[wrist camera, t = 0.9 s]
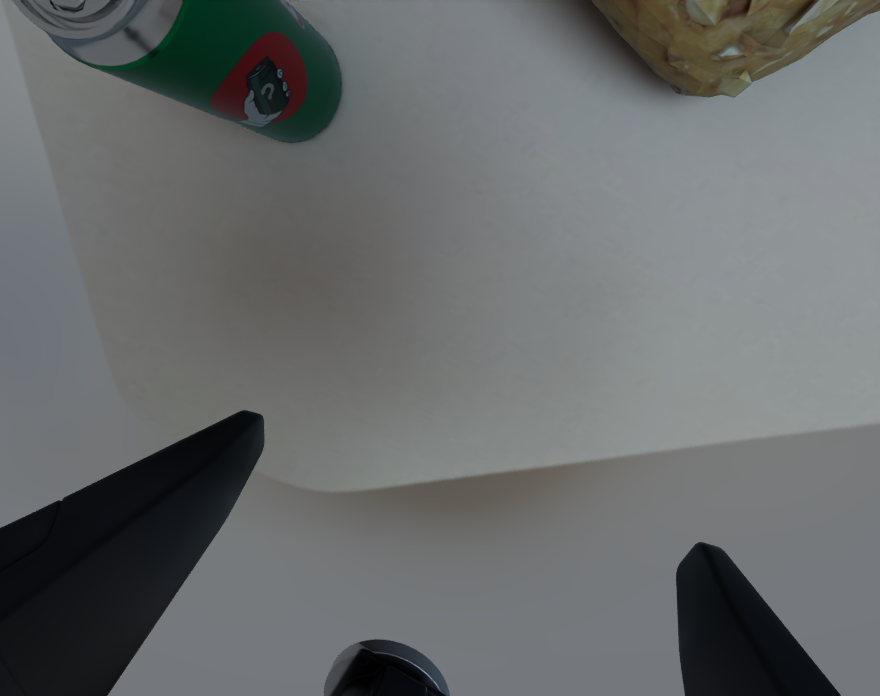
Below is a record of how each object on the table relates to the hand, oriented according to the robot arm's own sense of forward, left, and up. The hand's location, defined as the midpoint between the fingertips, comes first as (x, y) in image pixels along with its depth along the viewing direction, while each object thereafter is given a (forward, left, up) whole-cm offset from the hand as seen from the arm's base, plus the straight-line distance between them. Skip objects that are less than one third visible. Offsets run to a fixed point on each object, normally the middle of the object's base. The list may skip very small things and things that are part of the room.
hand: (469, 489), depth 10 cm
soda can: (+6, +14, -15) cm, 21 cm away
